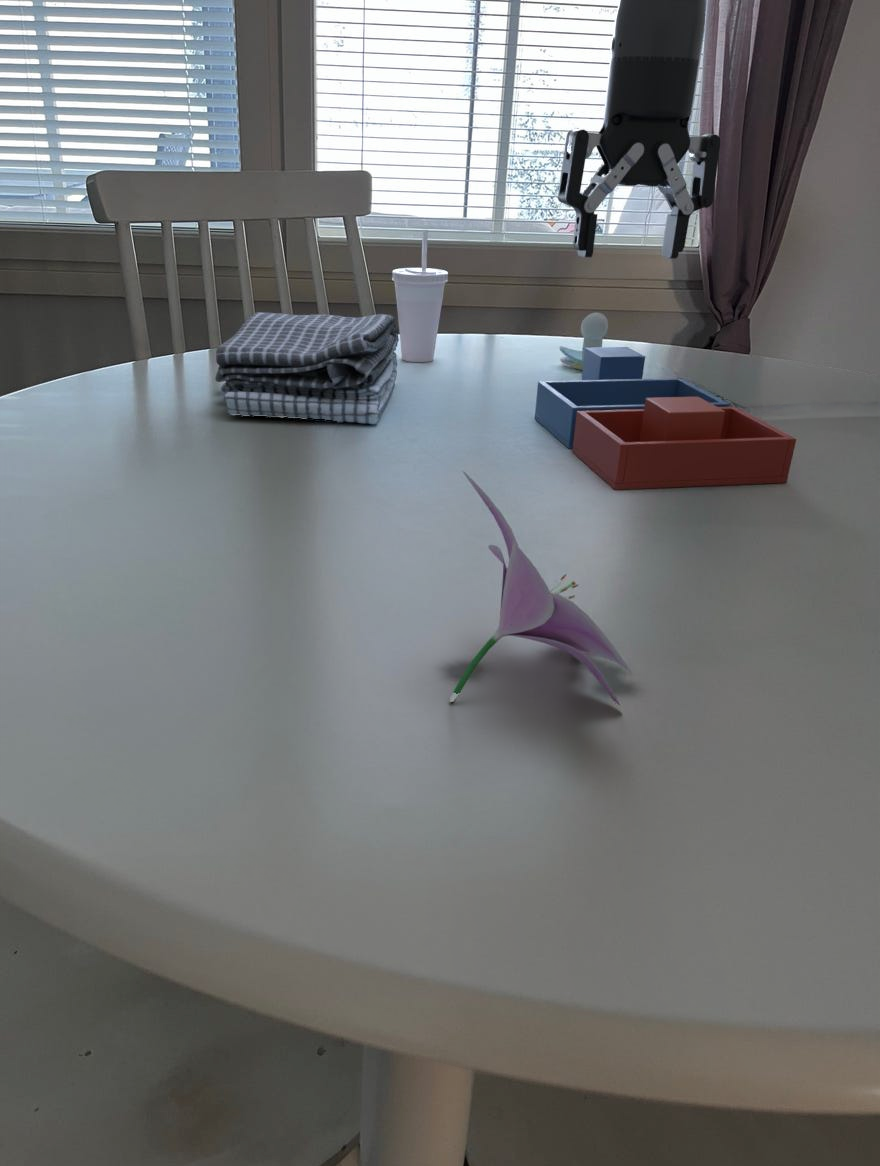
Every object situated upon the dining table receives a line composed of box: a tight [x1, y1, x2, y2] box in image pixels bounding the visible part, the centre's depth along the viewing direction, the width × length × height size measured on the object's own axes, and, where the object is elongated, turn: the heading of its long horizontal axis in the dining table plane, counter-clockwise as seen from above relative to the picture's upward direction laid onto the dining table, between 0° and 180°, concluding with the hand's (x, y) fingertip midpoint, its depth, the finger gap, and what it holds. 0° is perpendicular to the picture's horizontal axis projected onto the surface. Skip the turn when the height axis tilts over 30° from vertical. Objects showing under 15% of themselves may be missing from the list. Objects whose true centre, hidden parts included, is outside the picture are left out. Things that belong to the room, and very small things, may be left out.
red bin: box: [571, 406, 797, 491], centre depth 75 cm, size 14×10×4 cm
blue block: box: [581, 346, 646, 380], centre depth 94 cm, size 5×5×5 cm
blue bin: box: [534, 377, 731, 450], centre depth 84 cm, size 14×10×4 cm
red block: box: [639, 397, 725, 442], centre depth 75 cm, size 5×5×5 cm
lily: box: [452, 471, 632, 706], centre depth 43 cm, size 12×12×10 cm
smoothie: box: [391, 229, 449, 363], centre depth 107 cm, size 6×6×14 cm
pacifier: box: [559, 312, 609, 371], centre depth 107 cm, size 7×6×6 cm
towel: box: [214, 311, 400, 425], centre depth 90 cm, size 15×18×8 cm
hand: (627, 257), depth 88 cm, fingers open, 8 cm apart
